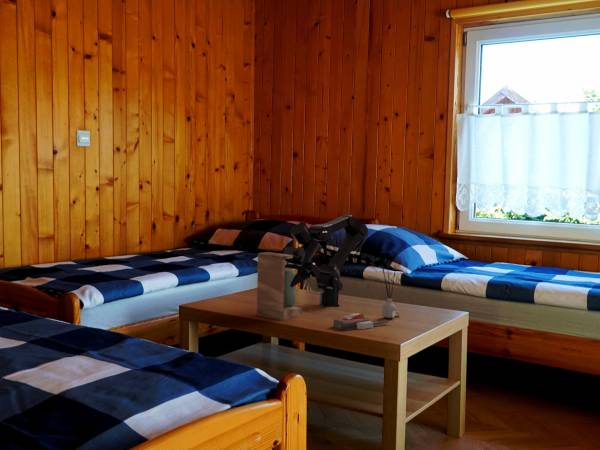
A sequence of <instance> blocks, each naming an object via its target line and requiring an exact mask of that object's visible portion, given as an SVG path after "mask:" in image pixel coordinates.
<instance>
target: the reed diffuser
mask: <svg viewBox="0 0 600 450" xmlns="http://www.w3.org/2000/svg"><path fill="white" fill-rule="evenodd" d="M381 268H382V273H383V277H384V278H383V279H384V283H385V289H386V295H387V296H386V302H385V303H384V304H383V305H382V317H383V318H387V319H388V318H391V319H392V318H396V317H398V316H399V317H401V313H400V311H399V310H396V309H397V308H396V305H395V304H394V303H393V297H392V296H393V288H394V282H395V278H396V277H395V276H396V269H397V264H395V266H394V272H393V280H392V287H390V286H391V285H390V283H388V284H387V281H388V282H390V275H389V274H390V273H389V272H387V279H388V280H386V275H385V269H384V265H383V264H382V263H381ZM386 269H387V271H389V265H388V263H386ZM395 316H396V317H395Z"/></svg>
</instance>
